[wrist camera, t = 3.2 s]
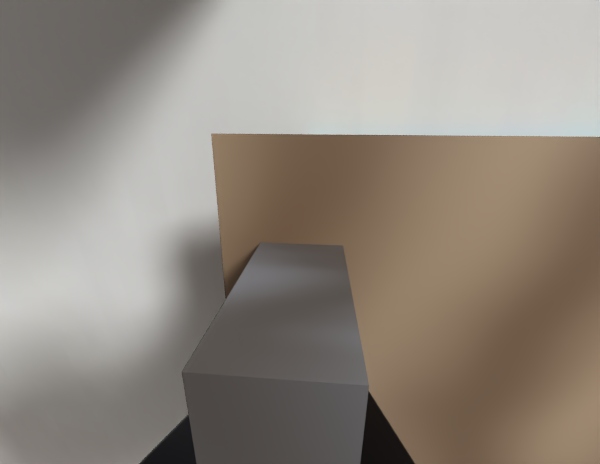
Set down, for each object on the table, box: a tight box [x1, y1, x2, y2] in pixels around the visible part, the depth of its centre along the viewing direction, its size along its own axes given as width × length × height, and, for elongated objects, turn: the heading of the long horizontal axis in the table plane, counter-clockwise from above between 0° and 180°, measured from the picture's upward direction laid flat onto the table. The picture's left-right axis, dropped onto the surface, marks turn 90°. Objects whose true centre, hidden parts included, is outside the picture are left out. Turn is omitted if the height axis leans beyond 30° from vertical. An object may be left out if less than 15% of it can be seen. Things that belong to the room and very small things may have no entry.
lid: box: [182, 134, 600, 464], centre depth 6 cm, size 16×12×5 cm
